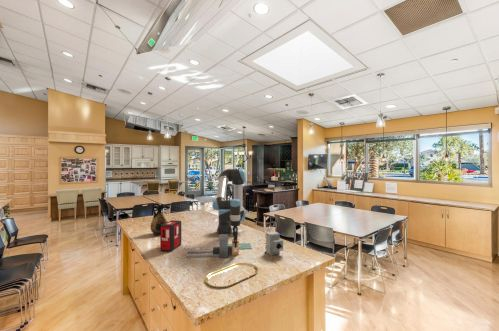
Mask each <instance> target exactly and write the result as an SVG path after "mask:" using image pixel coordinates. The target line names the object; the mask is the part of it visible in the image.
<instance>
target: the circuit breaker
mask: <svg viewBox="0 0 499 331" xmlns="http://www.w3.org/2000/svg"><path fill="white" fill-rule="evenodd" d="M264 250H265V253H266V254H268V255H270V256H274V255H279V254H281V253H280V252H283V251H284V240H283V239H282V238H281V237H280V233H279V232H277V231H274V230H272V231H265V249H264Z"/></svg>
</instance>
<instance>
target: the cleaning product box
mask: <svg viewBox="0 0 499 331" xmlns="http://www.w3.org/2000/svg"><path fill="white" fill-rule="evenodd" d="M159 236H160V237H159V238H160V239H159V240H160V242H159V243H160V247H159V248H160V249H159V250H160V252H162V253H172V252H174V251H175V250H177V249H178V248H179V247H181V246H182V220H169V221H167V223H165V224H162V225H160V235H159Z"/></svg>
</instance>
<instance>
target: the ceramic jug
mask: <svg viewBox="0 0 499 331" xmlns="http://www.w3.org/2000/svg"><path fill="white" fill-rule="evenodd" d="M156 206H157V207H156ZM155 207H156V208H155ZM151 208H152V212H153V217H152V219H151V222H150V225H149V226H150V230H151V232H152V234H153V235H154V236H160V225H162V224H165V223H167V222H168V221H167V218H166V217H165V215H164V214H163V213H162V210H164V209H166V208H167V206H165V204H163V203H162V204H161V205H160V203H158V202H155V203H153V204H152V206H151ZM155 210H156V211H157V212H156V211H155Z"/></svg>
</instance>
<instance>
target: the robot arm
mask: <svg viewBox="0 0 499 331" xmlns="http://www.w3.org/2000/svg"><path fill="white" fill-rule="evenodd" d="M246 181H247V180H246V172H245V169H243V168H226V169H225V170H223V171H221V173H220V174H219V176H218V178H217V182H218V185H217V191H216V199H214V200H213V201H212V209H213V210H215V211H218V214H217V215H218V225H217V229H216V233H217V234H219V235H220V234H228V235H229V234H232V239H234V242H233V243H234V252H237V243H238V241H237V239H238V233H239V228H238V227H239V226H241V222H245V220H246V214H247V213H246V209H245V207H244V206H243V204H244V202H243V197H244V196H243V193H244V192H243V188H244V184H245V182H246ZM229 182H231V183H232V185H233V198H232V199H229V200H227V199H226V197H227V190H228V189H227V188H228V183H229ZM231 232H232V233H231Z"/></svg>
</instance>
